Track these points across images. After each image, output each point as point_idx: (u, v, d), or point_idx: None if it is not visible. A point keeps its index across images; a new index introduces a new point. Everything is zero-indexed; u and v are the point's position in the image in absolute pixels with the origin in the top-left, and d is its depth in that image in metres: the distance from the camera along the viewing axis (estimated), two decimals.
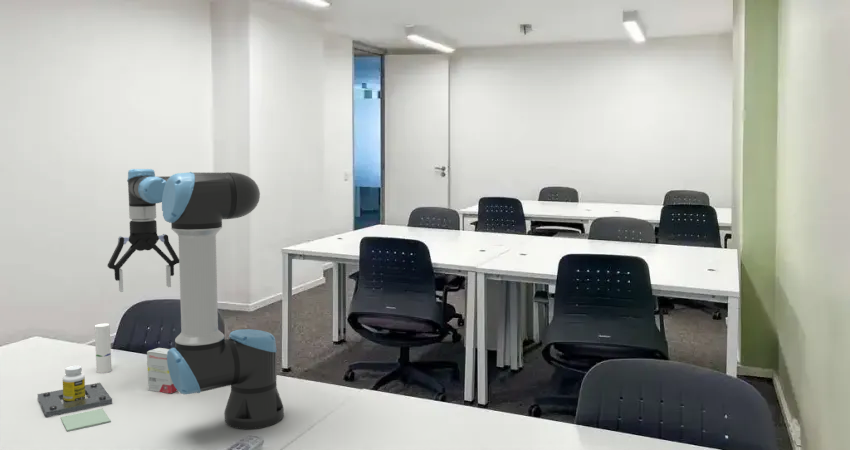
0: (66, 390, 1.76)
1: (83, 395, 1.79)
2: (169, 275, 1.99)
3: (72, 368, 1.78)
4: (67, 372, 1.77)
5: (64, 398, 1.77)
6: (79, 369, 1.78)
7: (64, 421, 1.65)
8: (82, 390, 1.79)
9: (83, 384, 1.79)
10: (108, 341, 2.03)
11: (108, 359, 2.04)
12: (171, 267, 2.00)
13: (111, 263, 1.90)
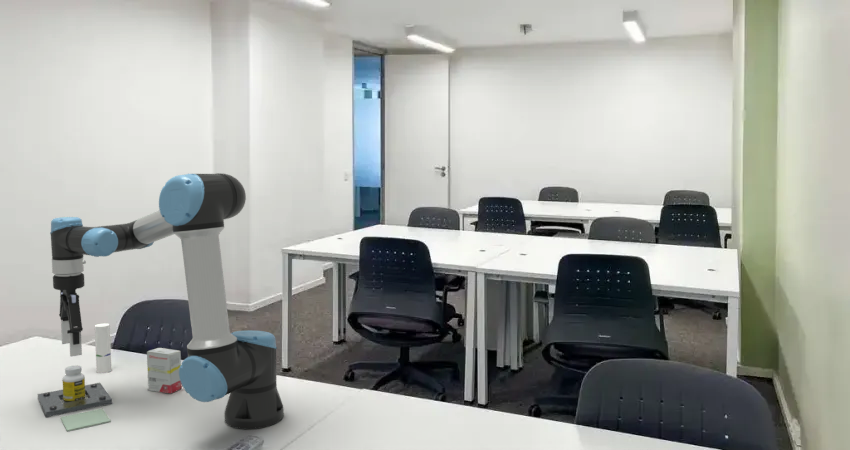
0: (66, 390, 1.76)
1: (83, 395, 1.79)
2: None
3: (72, 368, 1.78)
4: (67, 372, 1.77)
5: (64, 398, 1.77)
6: (79, 369, 1.78)
7: (64, 421, 1.65)
8: (82, 390, 1.79)
9: (83, 384, 1.79)
10: (108, 341, 2.03)
11: (108, 359, 2.04)
12: (72, 334, 1.71)
13: None
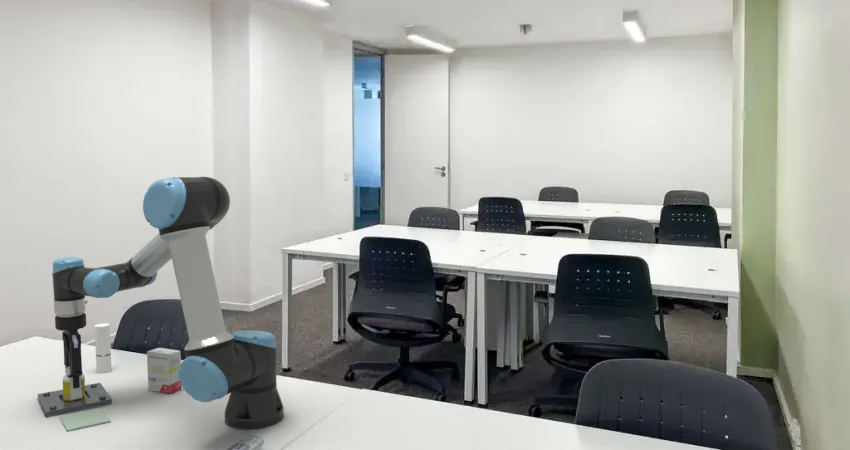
0: (66, 390, 1.76)
1: (83, 395, 1.79)
2: (70, 386, 1.76)
3: None
4: (67, 372, 1.77)
5: (64, 398, 1.77)
6: None
7: (64, 421, 1.65)
8: (82, 390, 1.79)
9: (83, 384, 1.79)
10: (108, 341, 2.03)
11: (108, 359, 2.04)
12: (73, 378, 1.75)
13: (64, 360, 1.82)
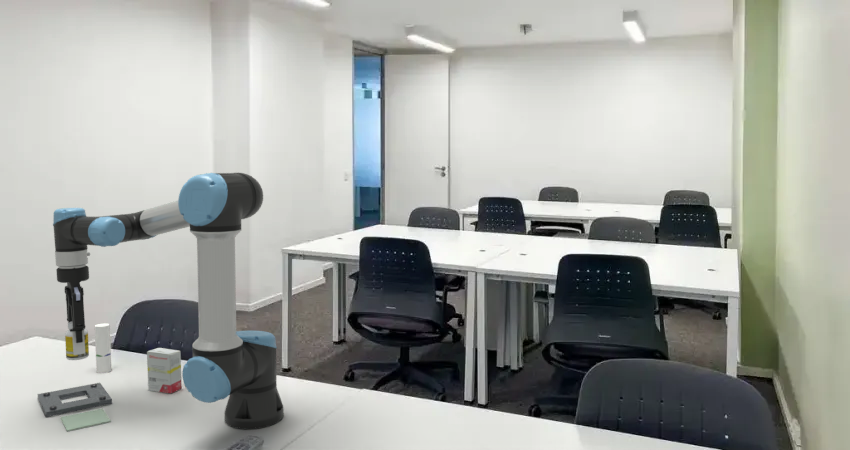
0: (69, 345, 1.70)
1: (87, 351, 1.73)
2: (73, 341, 1.69)
3: None
4: (70, 326, 1.70)
5: (67, 354, 1.71)
6: None
7: (64, 421, 1.65)
8: (85, 345, 1.72)
9: (86, 339, 1.73)
10: (108, 341, 2.03)
11: (108, 359, 2.04)
12: (75, 332, 1.69)
13: (67, 315, 1.76)
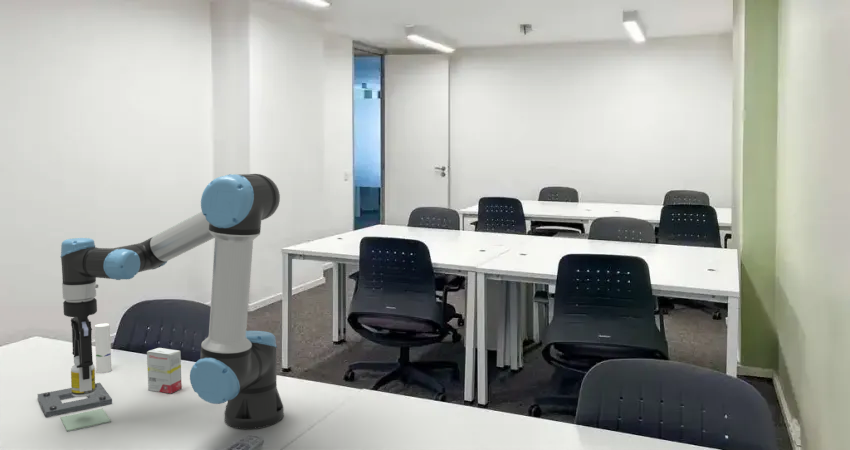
0: (75, 381, 1.63)
1: (93, 387, 1.66)
2: (79, 377, 1.62)
3: None
4: (76, 362, 1.63)
5: (72, 390, 1.64)
6: None
7: (64, 421, 1.65)
8: (92, 381, 1.65)
9: (93, 375, 1.66)
10: (108, 341, 2.03)
11: (108, 359, 2.04)
12: (82, 369, 1.62)
13: None
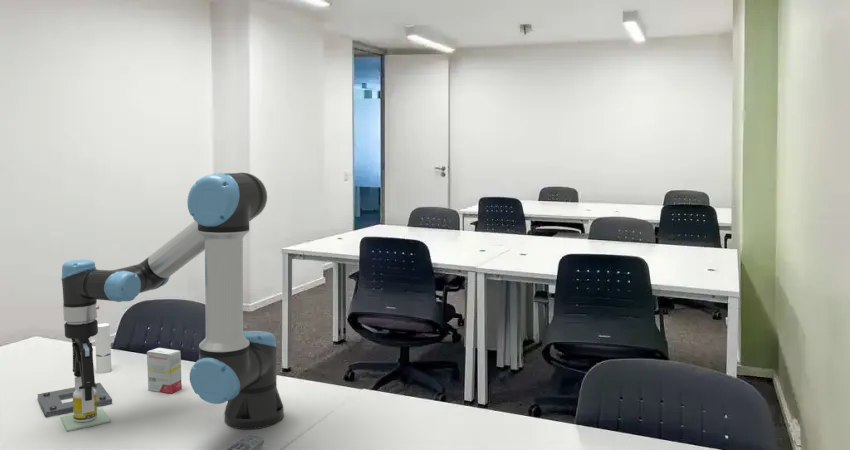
0: (76, 406, 1.64)
1: (95, 412, 1.67)
2: None
3: None
4: (78, 387, 1.64)
5: (74, 415, 1.64)
6: None
7: (64, 421, 1.65)
8: (94, 406, 1.66)
9: (95, 400, 1.66)
10: (108, 341, 2.03)
11: (108, 359, 2.04)
12: (84, 390, 1.61)
13: (73, 366, 1.70)
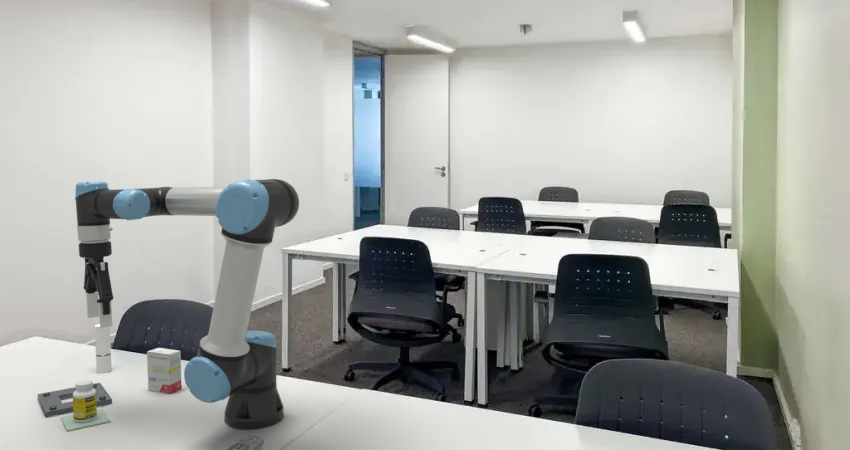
0: (76, 407, 1.64)
1: (95, 412, 1.67)
2: (99, 313, 1.61)
3: (83, 383, 1.65)
4: (78, 387, 1.64)
5: (74, 415, 1.64)
6: (90, 384, 1.65)
7: (64, 421, 1.65)
8: (94, 406, 1.66)
9: (95, 400, 1.66)
10: (108, 341, 2.03)
11: (108, 359, 2.04)
12: (102, 304, 1.61)
13: (84, 284, 1.73)
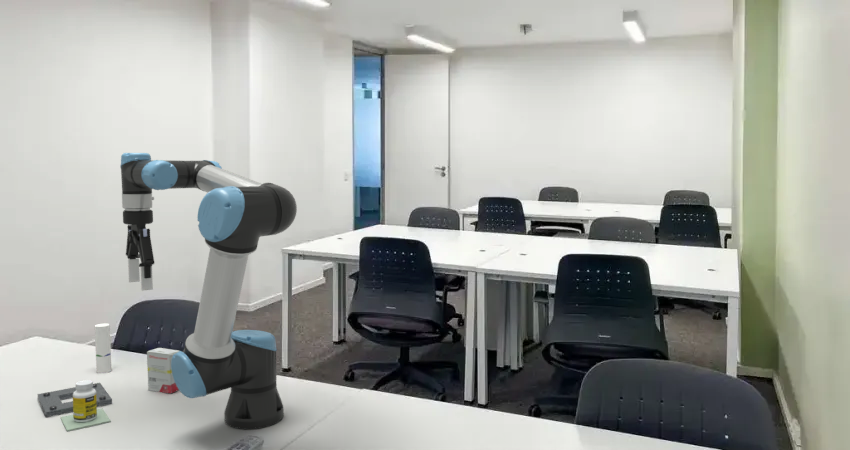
0: (76, 407, 1.64)
1: (95, 412, 1.67)
2: (141, 276, 1.71)
3: (83, 383, 1.65)
4: (78, 387, 1.64)
5: (74, 415, 1.64)
6: (90, 384, 1.65)
7: (64, 421, 1.65)
8: (94, 407, 1.66)
9: (95, 400, 1.66)
10: (108, 341, 2.03)
11: (108, 359, 2.04)
12: (144, 268, 1.71)
13: (126, 250, 1.83)
